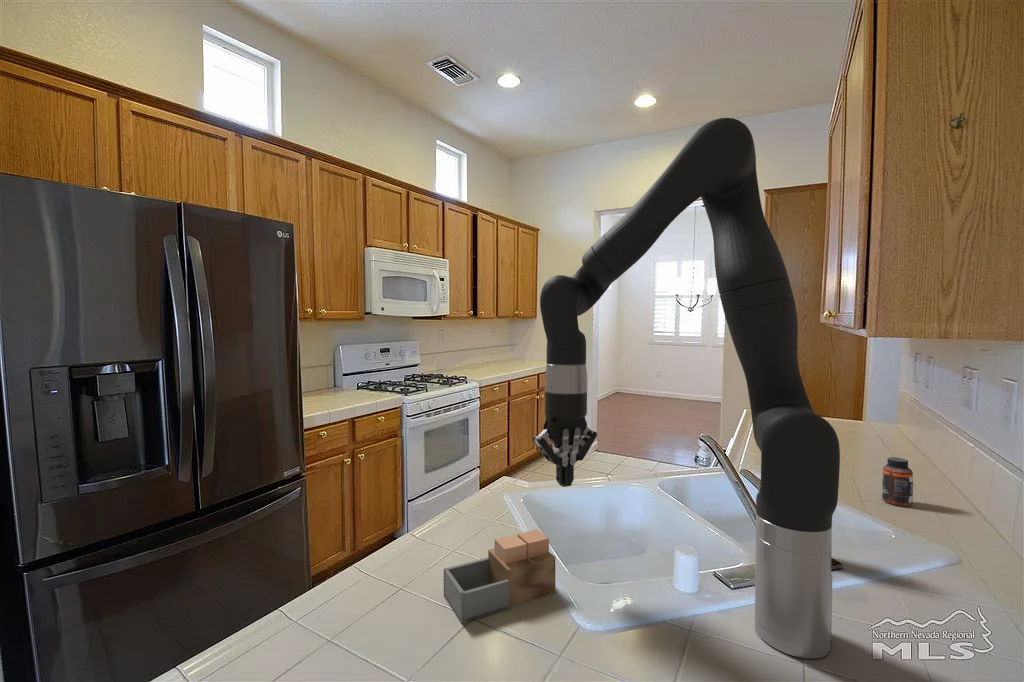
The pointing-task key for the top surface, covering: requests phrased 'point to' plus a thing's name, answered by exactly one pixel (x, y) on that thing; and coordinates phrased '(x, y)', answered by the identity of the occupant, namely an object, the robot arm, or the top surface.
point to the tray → (474, 591)
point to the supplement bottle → (897, 482)
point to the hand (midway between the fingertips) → (564, 485)
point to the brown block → (524, 576)
